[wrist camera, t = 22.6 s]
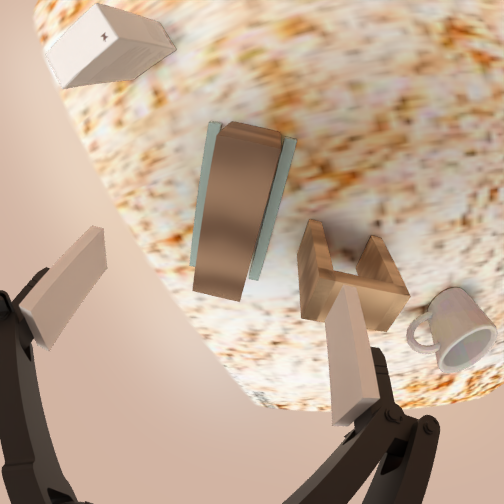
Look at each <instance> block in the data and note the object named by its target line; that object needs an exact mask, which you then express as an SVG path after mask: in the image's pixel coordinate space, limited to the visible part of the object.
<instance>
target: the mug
mask: <svg viewBox="0 0 504 504" xmlns="http://www.w3.org/2000/svg"><path fill="white" fill-rule="evenodd" d="M426 320H429V325H430V329H431V333H432V338H433V343H434V345H430V346H425V345H421V344H419V343H418V342H417V341H416V340H415V339H414V331H415V329H416V328H417V326H418V325H419V324H420V323H422V322H424V321H426ZM497 334H498V332H497V329H496V326H495V325H494V324H493V323H492V321H491V320H490V319H489V318H488V317H487V316H486V314H485V313H484V312H483V311H482V310H481V309H480V307H479V306H478V305H477V304H476V303H475V302H474V301H473V300H472V298H471V297H470V296H469V295H468V294H467V293H466V292H465V291H464V290H462V289H461V288H456V287H454V288H449V289H447V290H445V291H443V292H441V293H440V294H439V295H437V296H436V297H435V298H434V300H433V301H432V302H431V304H430V305H429V308H428V312H427V313H424V314H422V315H420V316H419V317H417V318H416V319H415V320H414V321H413V322H412V323H411V324H410V325H409V327H408V329H407V334H406V336H407V342H408V344H409V345H410V347H411V348H412V349H413V350H414V351H416V352H418V353H422V354H430V353H434V352H435V353H436V358H437V364H438V368H439V369H440V370H441V371H442V372H445V373H454V372H458V371H461V370H464V369H466V368H468V367H470V366H472V365H473V364H475V363H476V362H477V361H479V360H480V359H481V358H482V357H484V356H485V355H486V354H487V353H488V352H489V350H490V349H491V348H492V347H493V345H494V343H495V341H496V339H497Z"/></svg>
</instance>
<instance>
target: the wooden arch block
mask: <svg viewBox="0 0 504 504" xmlns="http://www.w3.org/2000/svg"><path fill="white" fill-rule="evenodd" d="M297 262H298V275H299V290H300V307H301V318H302V319H307V320H313V321H319V322H325V319H326V317H327V315H328V313H329V311H330V310H331V308H332V306H333V304H334V302H335V300H336V298H337V296H338V294H339V292H340V290H341V288H342V286H343V285H347V286H351V287H356V289H357V292H358V296H359V300H360V304H361V308H362V312H363V317H364V321H365V325H366V329H370V330H377V331H384V332H387V330H388V329H389V328H390V326H391V325H392V323H393V322H394V321H395V319H396V318H397V316H398V315H399V313H400V312H401V310H402V309H403V307H404V306H405V304H406V303H407V301H408V300H409V298H410V297H411V296H410V294H409V292H408V290H407V288H406V286H405V283H404V281H403V279H402V277H401V275H400V273H399V271H398V269H397V267H396V265H395V263H394V261H393V259H392V257H391V255H390V253H389V251H388V250H387V248H386V246H385V244H384V242H383V240H382V238H379V237H375V236H372V235H371V237H370V239H369V241H368V243H367V245H366V247H365V250H364V252H363V254H362V256H361V258H360V260H359V262H358V264H357V266H356V270H357V273H358V276H356V275H352V274H347V273H343V272H338V271H334V270H333V266H332V262H331V258H330V253H329V249H328V245H327V241H326V237H325V233H324V230H323V226H322V222H319V221H315V220H311V219H309V221H308V224H307V227H306V230H305V233H304V236H303V239H302V242H301V244H300V247H299V250H298V253H297Z"/></svg>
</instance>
